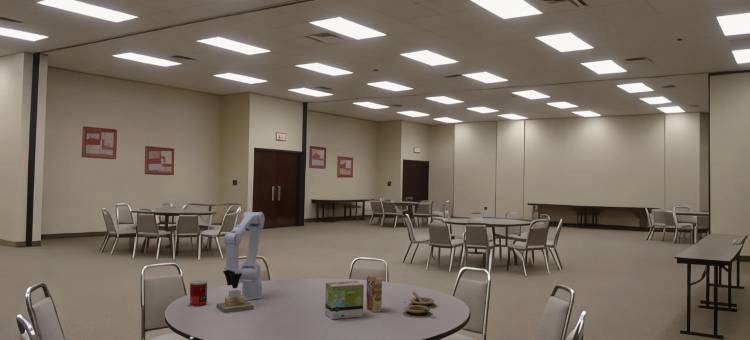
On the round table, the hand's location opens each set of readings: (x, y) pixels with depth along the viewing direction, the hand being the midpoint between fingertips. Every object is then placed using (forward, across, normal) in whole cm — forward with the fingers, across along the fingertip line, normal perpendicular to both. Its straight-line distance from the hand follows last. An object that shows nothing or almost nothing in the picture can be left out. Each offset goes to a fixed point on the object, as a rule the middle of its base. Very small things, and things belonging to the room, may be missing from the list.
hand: (232, 286), depth 271 cm
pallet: (+8, +3, 0) cm, 8 cm away
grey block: (+4, +3, 0) cm, 5 cm away
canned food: (+10, -14, -12) cm, 21 cm away
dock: (+10, +3, 0) cm, 10 cm away
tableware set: (+11, +51, +74) cm, 90 cm away
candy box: (+10, +40, +55) cm, 69 cm away
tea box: (+10, +42, +38) cm, 57 cm away
